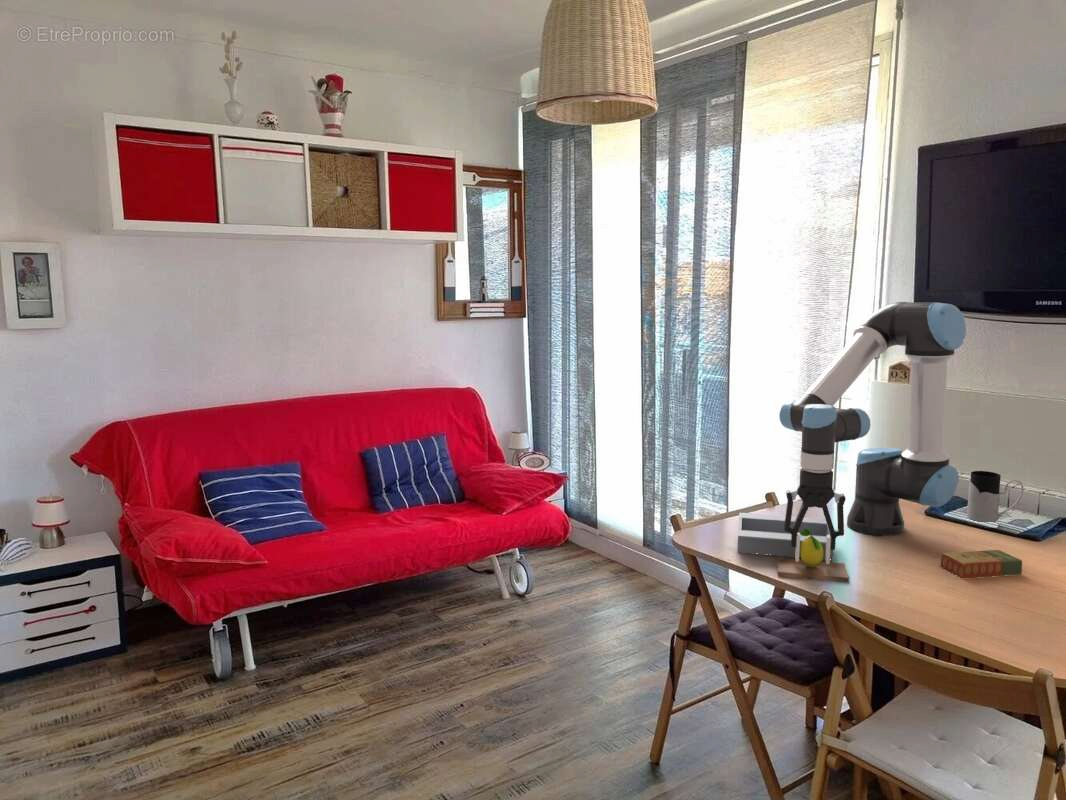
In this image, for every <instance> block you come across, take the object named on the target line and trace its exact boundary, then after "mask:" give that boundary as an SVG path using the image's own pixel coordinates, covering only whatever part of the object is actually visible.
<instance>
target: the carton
mask: <svg viewBox="0 0 1066 800" xmlns="http://www.w3.org/2000/svg"><path fill="white" fill-rule="evenodd" d="M940 555H941V557H940V563H939V565H940V566H939V568H941V567H942V568H941V569H943V570H944V569H945V570H944V571H946V570H947V571H946V572H948V571H949V572H948V573H950V572H951V574H952V573H953V574H952V575H954V576H955V575H957V576H958V577H957V576H956V577H957V578H959V577H960V578H959V579H961V578H972V579H979V578H978V577H986V578H993V577H992V576H1000V577H1006V576H1005V575H1016V576H1021V574H1022V573H1023V560H1022V559H1020V558H1018V557H1015V556H1013V555H1010V554H1008V553H1006V552H1005V551H1002V550H999V549H992V550H991V549H990V550H973V551H957V552H956V551H955V552H942V553H941V554H940Z"/></svg>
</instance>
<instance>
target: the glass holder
mask: <svg viewBox="0 0 1066 800" xmlns="http://www.w3.org/2000/svg"><path fill="white" fill-rule="evenodd" d="M1012 482H1017V483H1019V484H1020V486H1021V490H1020V493H1019V497H1018V498H1017V500H1016V501H1015V502H1014V504H1012V505H1011V506H1009V507H1008V508H1006V509H1005V510H1003V511H1001V512H1000V513H999V509H1000V508H999V507H1000V506H999V505H1000V499H1001V497H1000V496H1001V495H1004V494H1007V492H1008V486H1009V485H1010V483H1012ZM1000 487H1001V474H999V473H997V472H993V471H986V470H972V471H971V472H970V480H969V485H968V497H967V508H966V518H969V519H970V520H973V521H977V522H996V521H997V520H999V519H1000V516H1002V515H1003V514H1005V513H1007V512H1008V511H1010V510H1012V509H1013V508H1014V507H1015V506H1016V505H1017V504H1018V503H1019V502H1020V500H1021V498H1022V496H1023V493H1024V485H1023V482H1021V481H1019V480H1017V479H1011V480H1009V481H1008V482H1007V483H1006V484H1005V487H1004V491H1002V492H1000ZM997 522H998V521H997Z"/></svg>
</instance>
